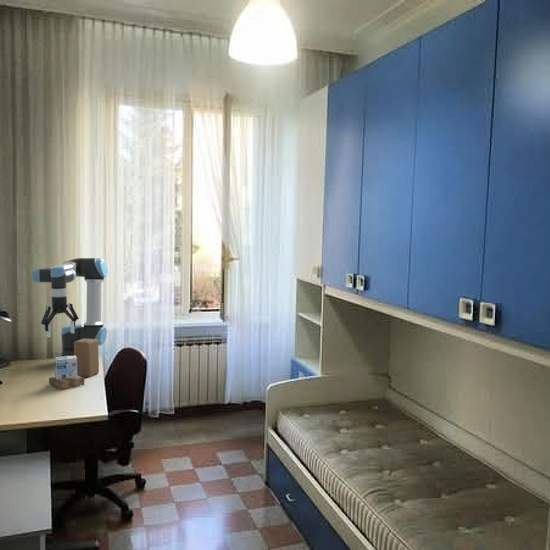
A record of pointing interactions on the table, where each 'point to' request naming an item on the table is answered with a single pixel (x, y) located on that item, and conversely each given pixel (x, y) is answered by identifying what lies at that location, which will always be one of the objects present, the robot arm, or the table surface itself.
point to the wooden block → (87, 357)
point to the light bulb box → (66, 367)
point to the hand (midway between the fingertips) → (60, 335)
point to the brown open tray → (66, 382)
